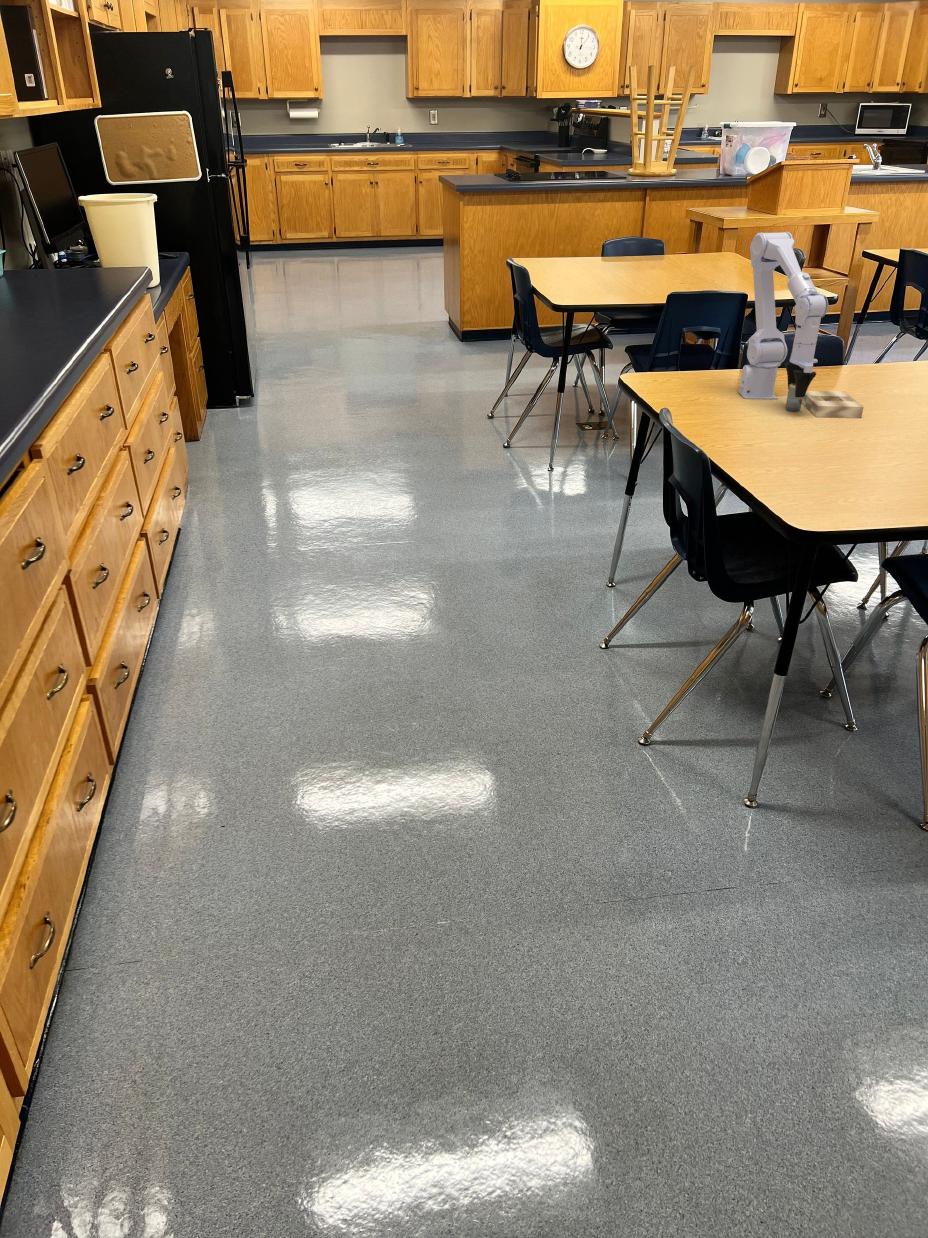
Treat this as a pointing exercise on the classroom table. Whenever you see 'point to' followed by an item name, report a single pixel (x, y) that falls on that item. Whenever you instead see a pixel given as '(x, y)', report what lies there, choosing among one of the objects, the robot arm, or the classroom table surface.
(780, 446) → the classroom table surface
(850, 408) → the block
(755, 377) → the robot arm
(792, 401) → the pin
